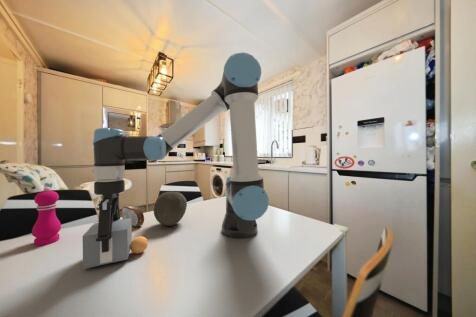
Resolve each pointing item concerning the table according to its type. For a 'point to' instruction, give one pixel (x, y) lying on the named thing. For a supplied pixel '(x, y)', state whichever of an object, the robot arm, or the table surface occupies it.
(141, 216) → the tin
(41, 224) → the pepper mill
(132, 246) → the ball
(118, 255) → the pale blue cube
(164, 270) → the table surface
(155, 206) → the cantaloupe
